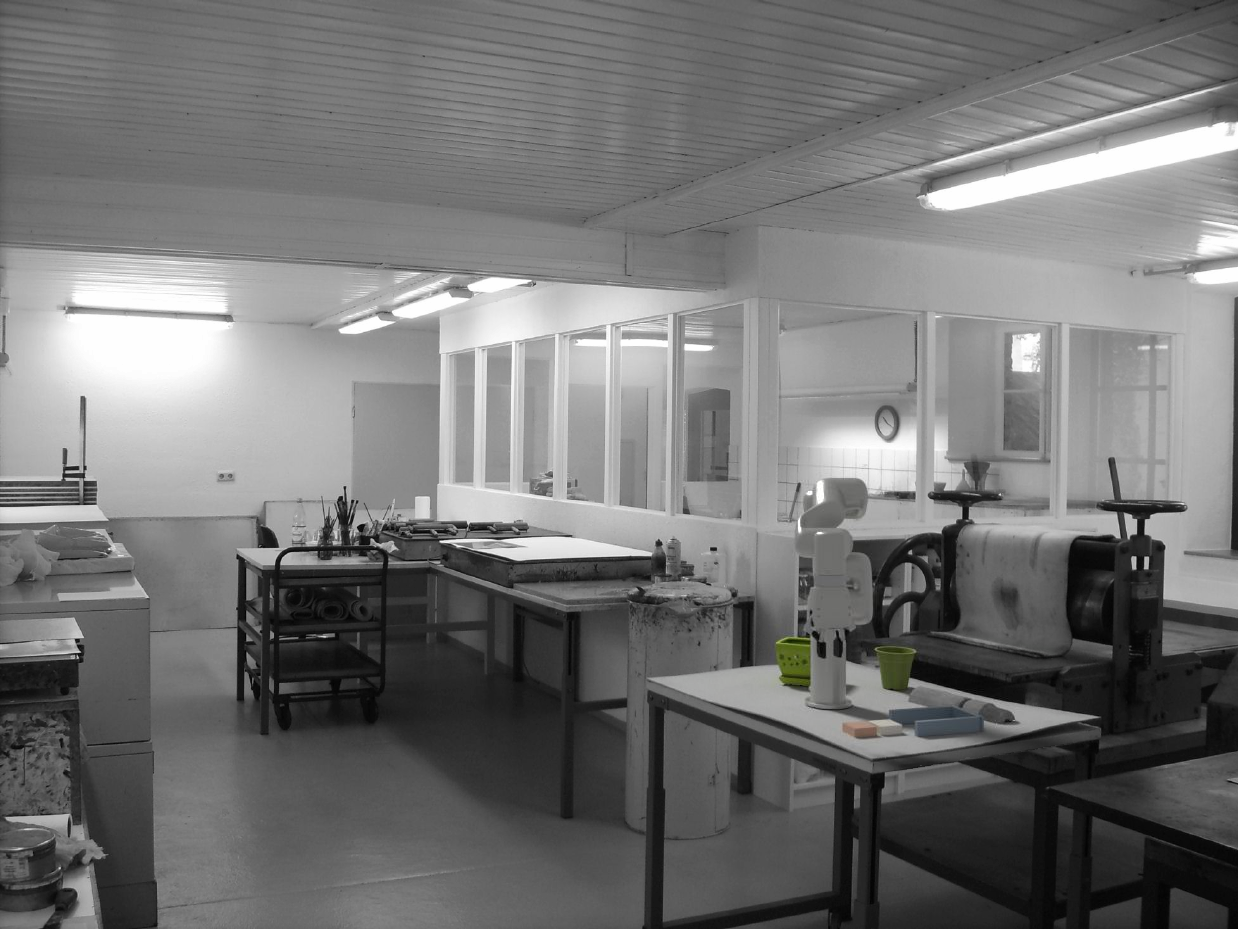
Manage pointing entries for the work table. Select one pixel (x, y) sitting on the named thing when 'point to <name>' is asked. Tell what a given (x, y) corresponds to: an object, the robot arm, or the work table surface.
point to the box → (938, 720)
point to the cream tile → (887, 727)
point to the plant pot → (895, 666)
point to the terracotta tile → (859, 729)
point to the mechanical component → (960, 704)
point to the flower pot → (794, 660)
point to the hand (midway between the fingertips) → (829, 656)
